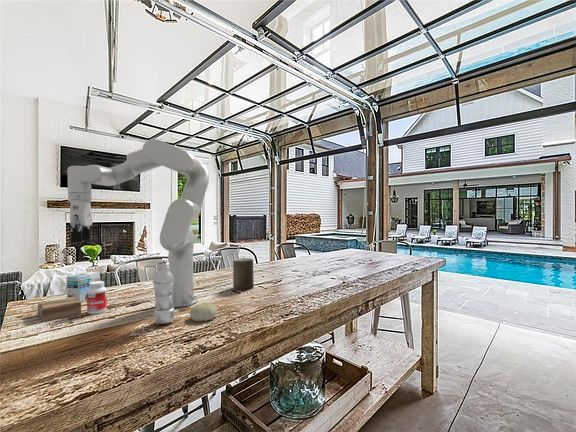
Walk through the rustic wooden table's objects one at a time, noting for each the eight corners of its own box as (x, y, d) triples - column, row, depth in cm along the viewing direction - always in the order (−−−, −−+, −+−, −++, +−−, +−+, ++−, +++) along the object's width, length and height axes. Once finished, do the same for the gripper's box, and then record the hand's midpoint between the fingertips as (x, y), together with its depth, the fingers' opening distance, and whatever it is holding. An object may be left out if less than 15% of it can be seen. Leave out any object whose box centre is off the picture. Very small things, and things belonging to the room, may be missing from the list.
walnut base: (81, 313, 106) (80, 301, 106) (42, 321, 98) (41, 309, 98) (74, 306, 114) (74, 296, 114) (37, 314, 106) (37, 302, 106)
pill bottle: (85, 315, 104) (84, 285, 104) (89, 310, 110) (89, 281, 110) (105, 313, 106) (104, 283, 106) (108, 308, 112) (108, 279, 112)
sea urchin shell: (223, 308, 104) (214, 297, 99) (215, 330, 99) (205, 319, 93) (202, 306, 107) (192, 295, 102) (192, 327, 102) (181, 316, 96)
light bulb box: (79, 302, 119) (79, 276, 119) (66, 302, 121) (65, 276, 120) (101, 295, 130) (100, 271, 130) (88, 294, 131) (88, 271, 131)
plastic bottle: (162, 328, 92) (160, 265, 92) (149, 323, 95) (148, 263, 95) (179, 321, 97) (178, 262, 97) (166, 317, 101) (165, 260, 101)
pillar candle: (252, 290, 134) (251, 258, 134) (231, 290, 135) (231, 258, 135) (254, 285, 144) (254, 255, 144) (235, 285, 144) (235, 255, 144)
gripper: (83, 196, 107) (84, 242, 108) (97, 198, 124) (98, 238, 124) (59, 196, 105) (60, 243, 105) (76, 198, 121) (78, 239, 122)
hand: (81, 241), depth 115 cm, fingers open, 9 cm apart
